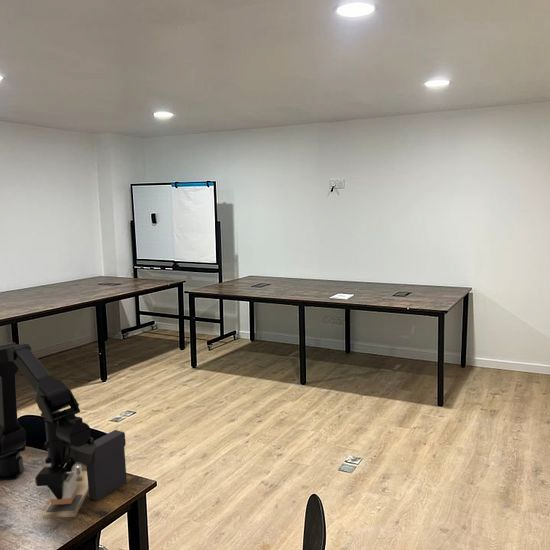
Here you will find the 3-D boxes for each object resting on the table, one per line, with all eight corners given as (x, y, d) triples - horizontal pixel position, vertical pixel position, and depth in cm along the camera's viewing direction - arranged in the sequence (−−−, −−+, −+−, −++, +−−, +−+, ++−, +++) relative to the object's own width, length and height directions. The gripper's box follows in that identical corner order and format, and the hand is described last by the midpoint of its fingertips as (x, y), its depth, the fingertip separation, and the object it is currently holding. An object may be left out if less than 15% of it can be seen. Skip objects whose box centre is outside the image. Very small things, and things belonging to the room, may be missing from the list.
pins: (59, 506, 138) (58, 491, 138) (76, 477, 152) (74, 464, 152) (67, 505, 138) (66, 491, 138) (83, 477, 152) (82, 464, 152)
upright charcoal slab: (117, 478, 153) (113, 428, 151) (128, 482, 151) (125, 431, 149) (86, 498, 143) (82, 445, 141) (98, 502, 141) (94, 448, 139)
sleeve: (50, 504, 137) (48, 482, 136) (57, 493, 141) (55, 472, 141) (71, 503, 137) (69, 481, 136) (77, 492, 142) (75, 471, 141)
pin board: (42, 518, 135) (42, 514, 135) (69, 475, 156) (69, 471, 155) (75, 516, 135) (75, 512, 135) (97, 473, 156) (97, 469, 156)
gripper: (79, 451, 128) (85, 512, 130) (100, 418, 146) (104, 472, 149) (31, 453, 127) (37, 514, 130) (58, 420, 146) (63, 474, 148)
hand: (63, 492), depth 139 cm, fingers open, 5 cm apart
